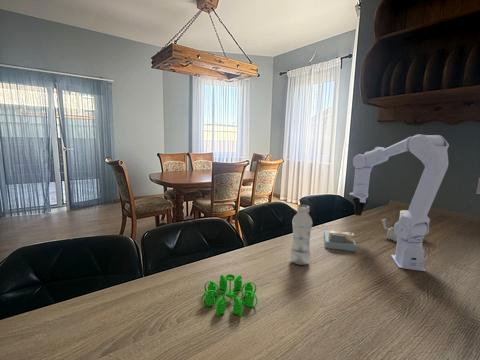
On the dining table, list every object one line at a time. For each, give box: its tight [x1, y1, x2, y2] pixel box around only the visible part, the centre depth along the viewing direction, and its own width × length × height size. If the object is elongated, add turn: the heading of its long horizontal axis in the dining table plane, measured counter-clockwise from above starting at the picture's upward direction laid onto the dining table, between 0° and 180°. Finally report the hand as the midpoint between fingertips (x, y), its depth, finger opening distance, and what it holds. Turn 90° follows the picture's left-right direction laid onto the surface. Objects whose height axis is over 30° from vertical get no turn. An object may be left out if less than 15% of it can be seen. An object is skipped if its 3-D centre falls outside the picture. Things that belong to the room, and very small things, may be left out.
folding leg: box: [328, 230, 355, 243], centre depth 103 cm, size 9×2×3 cm, turn 77°
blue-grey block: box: [323, 229, 357, 252], centre depth 107 cm, size 13×11×6 cm
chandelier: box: [201, 273, 259, 317], centre depth 68 cm, size 15×15×7 cm
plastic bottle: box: [289, 204, 313, 266], centre depth 88 cm, size 6×7×20 cm
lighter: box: [381, 218, 398, 242], centre depth 113 cm, size 7×2×8 cm, turn 31°
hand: (357, 215), depth 110 cm, fingers closed
